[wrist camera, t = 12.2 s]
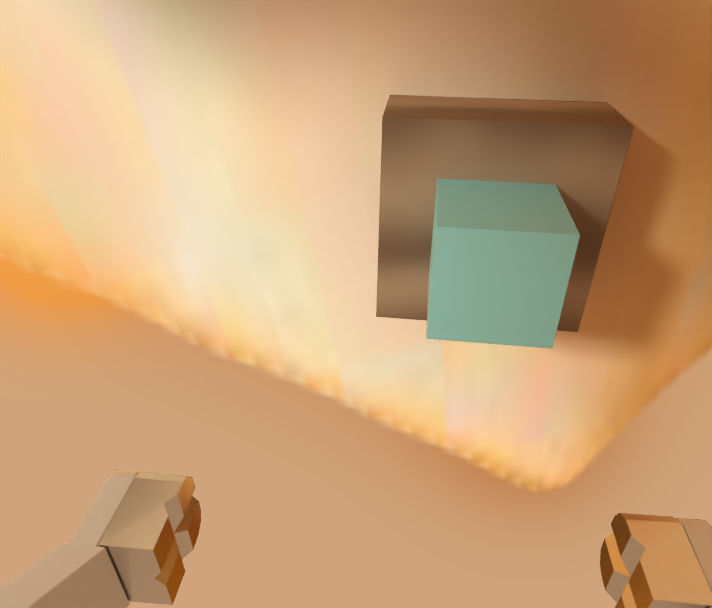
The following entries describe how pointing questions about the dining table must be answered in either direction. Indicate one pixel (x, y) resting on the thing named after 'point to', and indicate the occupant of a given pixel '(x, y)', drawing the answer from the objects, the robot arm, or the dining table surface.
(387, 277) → the walnut base
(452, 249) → the teal cube
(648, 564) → the robot arm
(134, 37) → the dining table surface
